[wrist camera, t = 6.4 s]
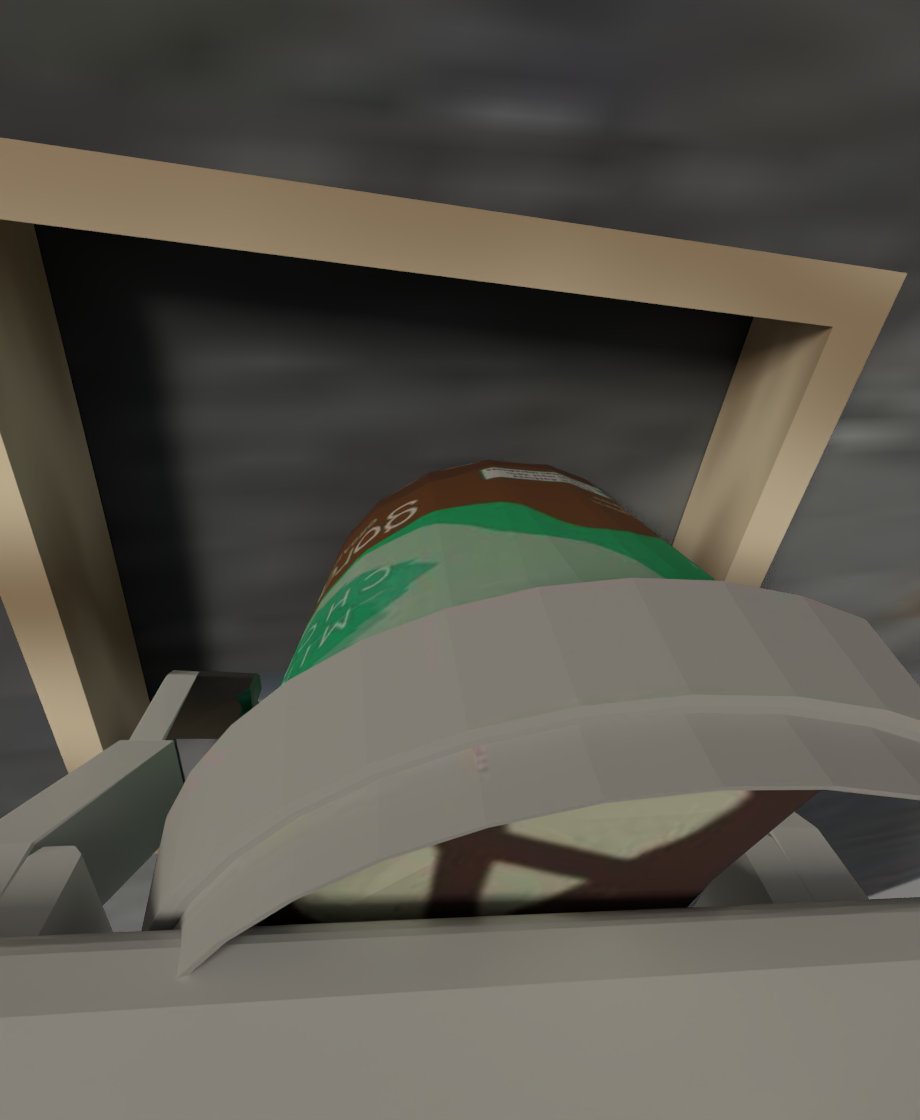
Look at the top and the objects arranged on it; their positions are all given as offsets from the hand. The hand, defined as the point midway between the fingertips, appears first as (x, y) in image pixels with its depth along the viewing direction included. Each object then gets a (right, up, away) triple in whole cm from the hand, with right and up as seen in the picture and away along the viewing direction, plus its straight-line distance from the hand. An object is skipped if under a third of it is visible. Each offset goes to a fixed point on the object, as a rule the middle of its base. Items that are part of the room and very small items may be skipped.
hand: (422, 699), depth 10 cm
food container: (-1, +2, +4) cm, 5 cm away
